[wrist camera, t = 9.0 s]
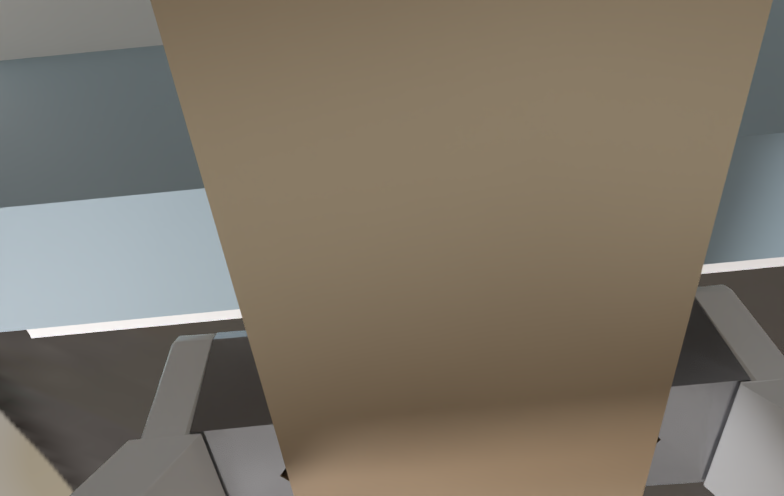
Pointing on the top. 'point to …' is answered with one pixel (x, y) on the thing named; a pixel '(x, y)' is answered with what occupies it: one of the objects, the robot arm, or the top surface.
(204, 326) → the top surface
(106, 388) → the top surface
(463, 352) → the maple bar
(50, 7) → the ridge stand
